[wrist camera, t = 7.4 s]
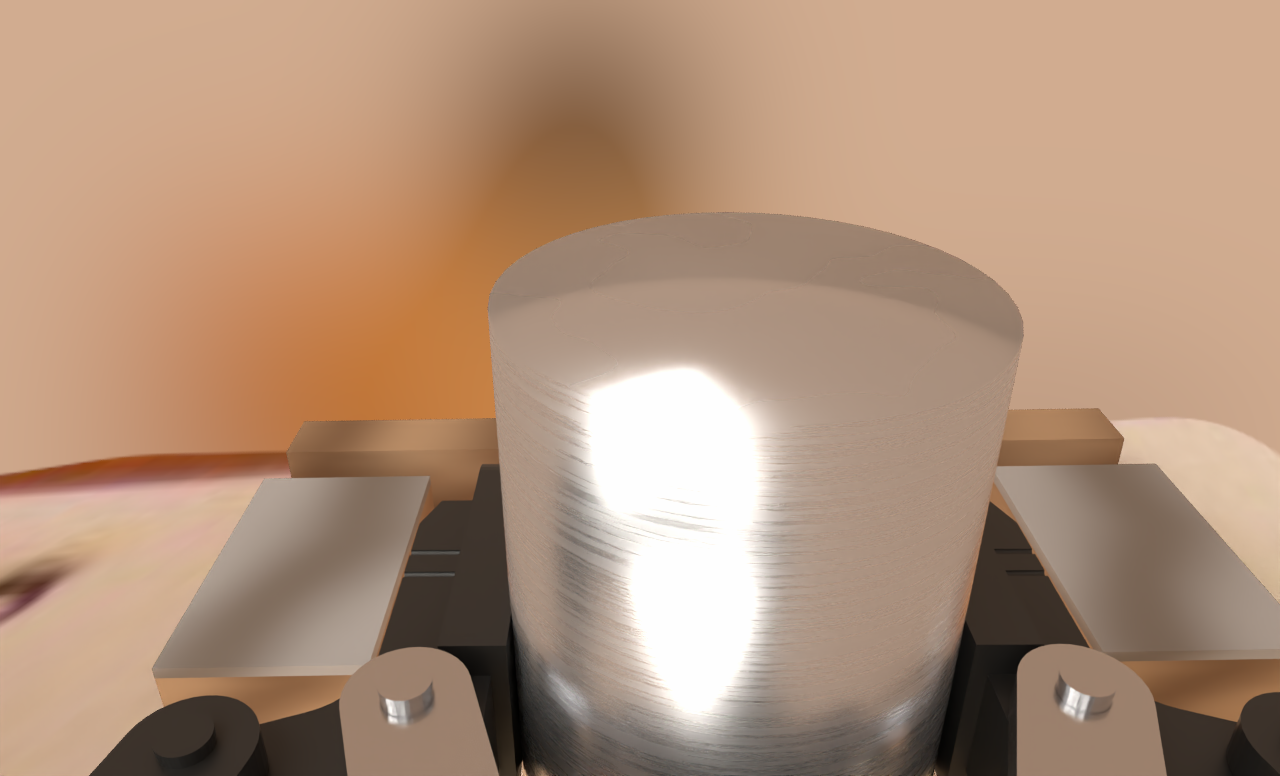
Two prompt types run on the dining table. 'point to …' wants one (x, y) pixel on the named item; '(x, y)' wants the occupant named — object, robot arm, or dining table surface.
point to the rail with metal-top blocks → (456, 448)
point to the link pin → (743, 492)
